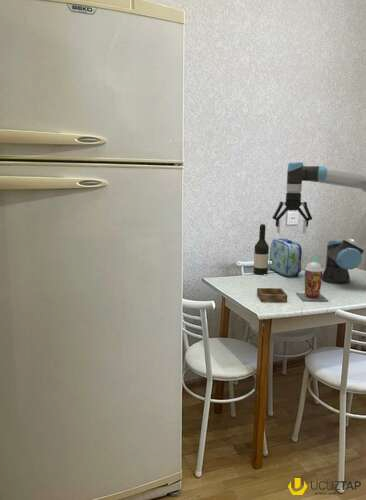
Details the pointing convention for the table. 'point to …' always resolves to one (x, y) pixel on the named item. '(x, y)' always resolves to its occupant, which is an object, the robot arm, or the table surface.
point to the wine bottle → (261, 253)
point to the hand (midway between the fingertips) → (291, 233)
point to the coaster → (304, 298)
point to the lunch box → (285, 257)
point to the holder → (271, 295)
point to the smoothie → (313, 279)
